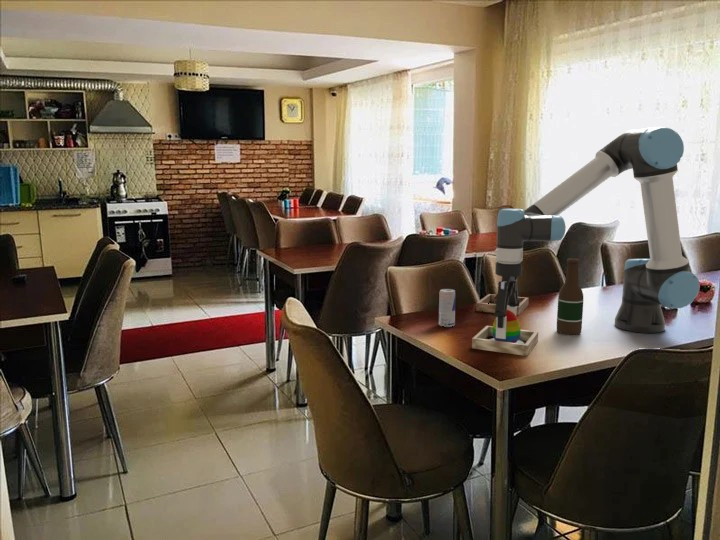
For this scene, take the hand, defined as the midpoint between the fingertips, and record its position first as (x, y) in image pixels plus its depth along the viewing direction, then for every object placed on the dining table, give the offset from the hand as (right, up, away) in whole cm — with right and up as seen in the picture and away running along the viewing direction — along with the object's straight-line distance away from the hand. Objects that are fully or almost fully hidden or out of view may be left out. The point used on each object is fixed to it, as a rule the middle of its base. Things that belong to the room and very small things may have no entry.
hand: (505, 332), depth 177 cm
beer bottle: (+24, -2, +14) cm, 27 cm away
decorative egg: (0, -3, +1) cm, 3 cm away
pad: (0, -4, +1) cm, 4 cm away
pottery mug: (+12, +4, +46) cm, 48 cm away
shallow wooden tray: (0, -4, +1) cm, 4 cm away
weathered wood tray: (+10, +4, +47) cm, 48 cm away
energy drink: (-14, 0, +23) cm, 27 cm away
